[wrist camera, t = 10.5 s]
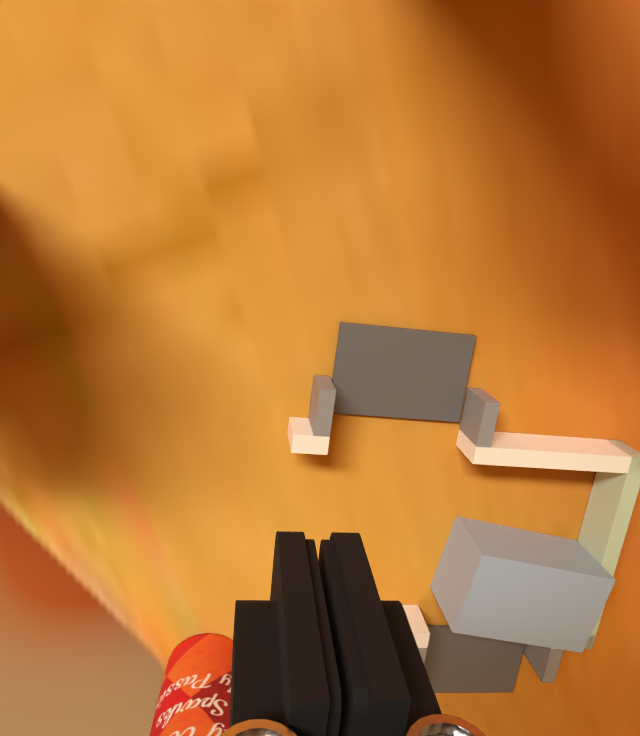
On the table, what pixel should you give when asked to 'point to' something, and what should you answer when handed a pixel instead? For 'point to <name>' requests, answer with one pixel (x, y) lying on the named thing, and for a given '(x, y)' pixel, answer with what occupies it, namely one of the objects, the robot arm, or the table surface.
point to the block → (519, 586)
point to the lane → (481, 446)
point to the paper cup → (196, 688)
